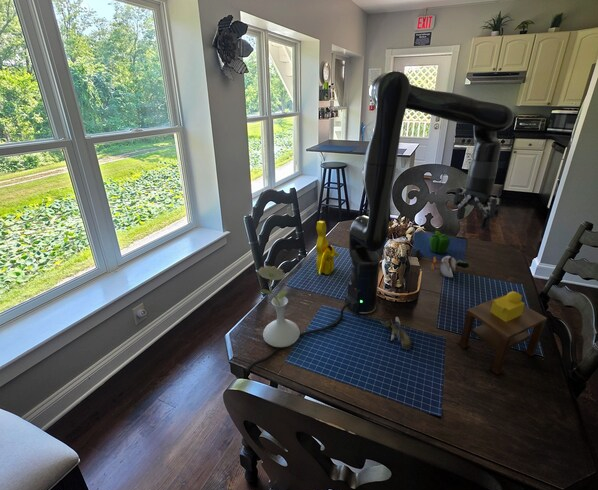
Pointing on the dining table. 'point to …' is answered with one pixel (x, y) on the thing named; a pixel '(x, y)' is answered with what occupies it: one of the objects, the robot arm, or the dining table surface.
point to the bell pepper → (439, 242)
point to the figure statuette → (324, 251)
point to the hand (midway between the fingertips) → (471, 223)
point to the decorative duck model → (449, 266)
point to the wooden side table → (503, 330)
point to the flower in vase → (278, 314)
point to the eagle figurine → (399, 333)
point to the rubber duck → (508, 306)
